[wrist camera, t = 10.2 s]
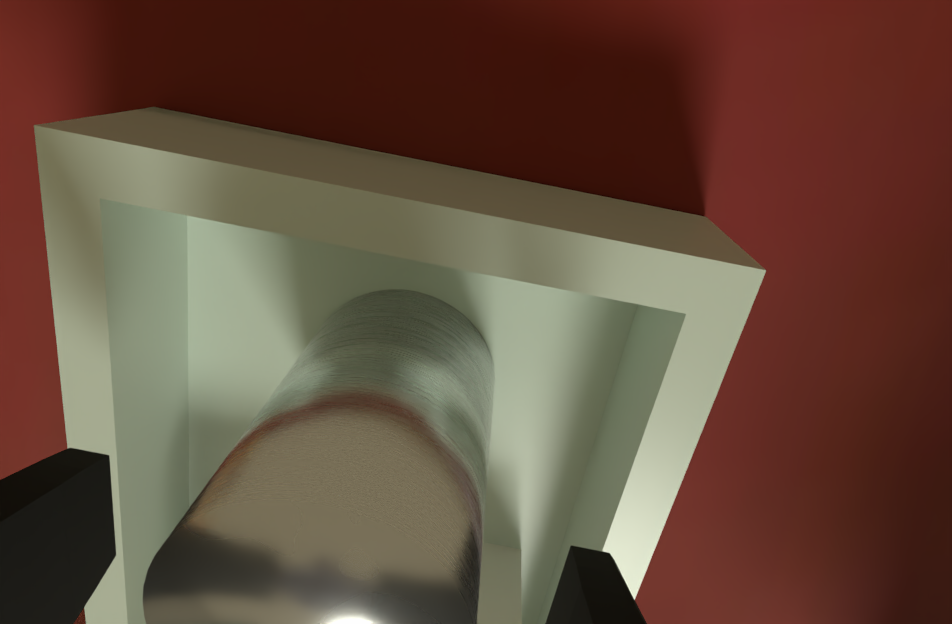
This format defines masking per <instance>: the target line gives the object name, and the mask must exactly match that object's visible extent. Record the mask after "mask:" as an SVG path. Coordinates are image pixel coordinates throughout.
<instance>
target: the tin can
mask: <svg viewBox="0 0 952 624" xmlns="http://www.w3.org/2000/svg"><path fill="white" fill-rule="evenodd" d="M494 386H495V372H494V364H493V360H492V357H491V353H490V350H489V348H488V346H487V344H486V341H485V340H484V338H483V337H482V335H481V333H480V332H479V330H478V329H477V328H476V327H475V325H474V324H473V323H472V322H471V321H470V320H469V319H468V318H467V317H466V316H465V315H464V314H463V313H461V312H460V311H459V310H457V309H456V308H454V307H453V306H451V305H450V304H448V303H446V302H444V301H443V300H441V299H438V298H436V297H433V296H431V295H428V294H424V293H421V292H417V291H411V290H404V289H388V290H378V291H374V292H370V293H366V294H363V295H360V296H358V297H355V298H353V299H351V300H350V301H348V302H346V303H344V304H343V305H342V306H340V307H339V308H338V309H336V310H335V311H334V312H333V313H332V314H331V315H330V316H329V317H328V318H327V319H326V321H325V322H324V324H323V325H322V326H321V328H320V329H319V330H318V332H317V333H316V334H315V336H314V337H313V339H312V340H311V341H310V343H309V344H308V345H307V347H306V348H305V350H304V351H303V352H302V354H301V355H300V356H299V358H298V359H297V361H296V362H295V363H294V365H293V366H292V367H291V369H290V370H289V372H288V373H287V374H286V376H285V377H284V378H283V380H282V381H281V383H280V384H279V385H278V387H277V388H276V389H275V391H274V392H273V394H272V395H271V396H270V398H269V399H268V400H267V402H266V403H265V405H264V406H263V407H262V409H261V410H260V412H259V413H258V414H257V416H256V417H255V418H254V420H253V421H252V423H251V424H250V425H249V427H248V428H247V429H246V431H245V432H244V434H243V435H242V436H241V438H240V439H239V440H238V442H237V443H236V445H235V446H234V447H233V449H232V450H231V451H230V453H229V454H228V456H227V457H226V458H225V460H224V461H223V462H222V464H221V465H220V467H219V468H218V469H217V471H216V472H215V473H214V475H213V476H212V478H211V479H210V480H209V482H208V483H207V484H206V486H205V487H204V489H203V490H202V491H201V493H200V494H199V495H198V497H197V498H196V500H195V501H194V502H193V504H192V505H191V506H190V508H189V509H188V511H187V512H186V513H185V515H184V516H183V517H182V519H181V520H180V522H179V523H178V524H177V526H176V527H175V528H174V530H173V531H172V533H171V534H170V535H169V537H168V538H167V539H166V541H165V542H164V544H163V545H162V546H161V548H160V549H159V550H158V552H157V553H156V555H155V556H154V558H153V560H152V562H151V564H150V566H149V568H148V570H147V574H146V578H145V582H144V586H143V610H144V618H145V621H146V624H477V614H478V600H479V587H480V574H481V560H482V547H483V533H484V520H485V506H486V493H487V480H488V466H489V453H490V439H491V426H492V412H493V399H494Z"/></svg>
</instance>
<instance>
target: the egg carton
mask: <svg viewBox="0 0 952 624" xmlns="http://www.w3.org/2000/svg"><path fill="white" fill-rule="evenodd" d="M477 624H522V581H521V549H516V548H511V547H506V546H501V545H496V544H490V543H485V542H483V547H482V560H481V574H480V587H479V600H478V614H477Z"/></svg>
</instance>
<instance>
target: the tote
mask: <svg viewBox="0 0 952 624" xmlns="http://www.w3.org/2000/svg"><path fill="white" fill-rule="evenodd" d="M34 130H35V140H36V149H37V159H38V169H39V178H40V188H41V197H42V207H43V216H44V226H45V236H46V245H47V255H48V264H49V274H50V283H51V293H52V303H53V312H54V322H55V331H56V341H57V351H58V360H59V370H60V379H61V389H62V398H63V408H64V418H65V427H66V437H67V446H68V448H75V449H80V450H85V451H90V452H96V453H101V454H106V455H109V458H110V472H111V486H112V501H113V515H114V530H115V544H116V556H115V558H114V560H113V561H112V563H111V565H110V566H109V568H108V570H107V571H106V573H105V575H104V576H103V578H102V580H101V581H100V583H99V584H98V586H97V588H96V589H95V591H94V593H93V594H92V596H91V597H90V599H89V600H88V602H87V603H86V605H85V607H84V609H85V619H86V624H146V621H145V618H144V610H143V586H144V582H145V578H146V574H147V570H148V568H149V566H150V564H151V562H152V560H153V558H154V556H155V555H156V553H157V552H158V550H159V549H160V548H161V546H162V545H163V544H164V542H165V541H166V539H167V538H168V537H169V535H170V534H171V533H172V531H173V530H174V528H175V527H176V526H177V524H178V523H179V522H180V520H181V519H182V517H183V516H184V515H185V513H186V512H187V511H188V509H189V508H190V506H191V505H192V504H193V502H194V501H195V500H196V498H197V497H198V495H199V494H200V493H201V491H202V490H203V489H204V487H205V486H206V484H207V483H208V482H209V480H210V479H211V478H212V476H213V475H214V473H215V472H216V471H217V469H218V468H219V467H220V465H221V464H222V462H223V461H224V460H225V458H226V457H227V456H228V454H229V453H230V451H231V450H232V449H233V447H234V446H235V445H236V443H237V442H238V440H239V439H240V438H241V436H242V435H243V434H244V432H245V431H246V429H247V428H248V427H249V425H250V424H251V423H252V421H253V420H254V418H255V417H256V416H257V414H258V413H259V412H260V410H261V409H262V407H263V406H264V405H265V403H266V402H267V400H268V399H269V398H270V396H271V395H272V394H273V392H274V391H275V389H276V388H277V387H278V385H279V384H280V383H281V381H282V380H283V378H284V377H285V376H286V374H287V373H288V372H289V370H290V369H291V367H292V366H293V365H294V363H295V362H296V361H297V359H298V358H299V356H300V355H301V354H302V352H303V351H304V350H305V348H306V347H307V345H308V344H309V343H310V341H311V340H312V339H313V337H314V336H315V334H316V333H317V332H318V330H319V329H320V328H321V326H322V325H323V324H324V322H325V321H326V319H327V318H328V317H329V316H330V315H331V314H332V313H333V312H334V311H335V310H336V309H338V308H339V307H340V306H342V305H343V304H344V303H346V302H348V301H350V300H351V299H353V298H355V297H358V296H360V295H363V294H366V293H370V292H374V291H378V290H388V289H404V290H411V291H417V292H421V293H424V294H428V295H431V296H433V297H436V298H438V299H441V300H443V301H444V302H446V303H448V304H450V305H451V306H453V307H454V308H456V309H457V310H459V311H460V312H461V313H463V314H464V315H465V316H466V317H467V318H468V319H469V320H470V321H471V322H472V323H473V324H474V325H475V327H476V328H477V329H478V330H479V332H480V333H481V335H482V337H483V338H484V340H485V341H486V344H487V346H488V348H489V350H490V353H491V357H492V360H493V364H494V372H495V386H494V399H493V412H492V426H491V439H490V453H489V466H488V480H487V493H486V506H485V520H484V533H483V542H485V543H490V544H496V545H501V546H506V547H511V548H516V549H521V581H522V624H545V623H546V620H547V617H548V614H549V611H550V608H551V605H552V602H553V599H554V595H555V592H556V589H557V586H558V583H559V580H560V577H561V574H562V571H563V568H564V565H565V562H566V558H567V555H568V552H569V549H570V546H571V545H572V546H577V547H582V548H587V549H592V550H598V551H603V552H608V553H610V554H611V556H612V557H613V559H614V560H615V562H616V564H617V566H618V568H619V570H620V572H621V574H622V576H623V578H624V580H625V582H626V584H627V586H628V588H629V590H630V592H631V594H632V596H633V598H634V600H635V597H636V595H637V592H638V590H639V587H640V585H641V582H642V580H643V577H644V575H645V572H646V570H647V567H648V565H649V562H650V560H651V557H652V555H653V552H654V550H655V547H656V545H657V542H658V540H659V537H660V535H661V532H662V530H663V527H664V525H665V522H666V520H667V517H668V515H669V512H670V510H671V507H672V505H673V502H674V500H675V497H676V495H677V492H678V490H679V487H680V485H681V482H682V480H683V477H684V475H685V472H686V470H687V467H688V465H689V462H690V460H691V457H692V455H693V452H694V450H695V447H696V445H697V442H698V440H699V437H700V435H701V432H702V430H703V427H704V425H705V422H706V420H707V417H708V415H709V412H710V410H711V407H712V405H713V402H714V400H715V397H716V395H717V392H718V390H719V387H720V385H721V382H722V380H723V377H724V375H725V372H726V370H727V367H728V365H729V362H730V360H731V357H732V355H733V352H734V350H735V347H736V345H737V342H738V340H739V337H740V335H741V332H742V330H743V327H744V325H745V322H746V320H747V317H748V315H749V312H750V310H751V307H752V305H753V302H754V300H755V297H756V295H757V292H758V290H759V287H760V285H761V282H762V280H763V277H764V275H765V272H766V270H765V269H764V268H763V267H762V266H761V265H760V264H758V263H757V262H756V261H755V260H754V259H753V258H752V257H751V256H749V255H748V254H747V253H746V252H745V251H744V250H743V249H742V248H740V247H739V246H738V245H737V244H736V243H735V242H734V241H733V240H731V239H730V238H729V237H728V236H727V235H726V234H725V233H724V232H722V231H721V230H720V229H719V228H718V227H717V226H716V225H715V224H713V223H712V222H711V221H710V220H709V219H708V218H707V217H705V216H700V215H695V214H690V213H685V212H680V211H675V210H670V209H665V208H660V207H655V206H650V205H645V204H640V203H634V202H629V201H624V200H619V199H614V198H609V197H604V196H599V195H594V194H589V193H584V192H579V191H574V190H569V189H564V188H559V187H554V186H549V185H544V184H539V183H534V182H529V181H524V180H519V179H514V178H509V177H504V176H499V175H494V174H489V173H484V172H479V171H474V170H469V169H464V168H459V167H454V166H449V165H444V164H439V163H434V162H429V161H424V160H419V159H413V158H408V157H403V156H398V155H393V154H388V153H383V152H378V151H373V150H368V149H363V148H358V147H353V146H348V145H343V144H338V143H333V142H328V141H323V140H318V139H313V138H308V137H303V136H298V135H293V134H288V133H283V132H278V131H273V130H268V129H263V128H258V127H253V126H248V125H243V124H238V123H233V122H228V121H223V120H218V119H213V118H208V117H203V116H197V115H192V114H187V113H182V112H177V111H172V110H167V109H162V108H157V107H150V108H144V109H137V110H131V111H124V112H118V113H111V114H104V115H98V116H91V117H85V118H78V119H72V120H65V121H59V122H52V123H46V124H39V125H34Z"/></svg>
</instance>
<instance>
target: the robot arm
mask: <svg viewBox="0 0 952 624" xmlns="http://www.w3.org/2000/svg"><path fill="white" fill-rule="evenodd" d="M115 556H116V544H115V530H114V515H113V501H112V486H111V472H110V458H109V455H106V454H101V453H96V452H90V451H85V450H80V449H75V448H68V449H66V450H64V451H61V452H59V453H57V454H54V455H52V456H50V457H48V458H46V459H43V460H41V461H39V462H37V463H35V464H33V465H31V466H29V467H26V468H24V469H22V470H20V471H18V472H16V473H14V474H12V475H10V476H8V477H6V478H4V479H2V480H0V624H73V623H74V622H75V620H76V619H77V617H78V616H79V614H80V613H81V611H82V610H83V608H84V607H85V605H86V603H87V602H88V600H89V599H90V597H91V596H92V594H93V593H94V591H95V589H96V588H97V586H98V584H99V583H100V581H101V580H102V578H103V576H104V575H105V573H106V571H107V570H108V568H109V566H110V565H111V563H112V561H113V560H114V558H115ZM545 624H647V623H646V621H645V619H644V617H643V616H642V614H641V612H640V610H639V608H638V606H637V604H636V602H635V600H634V598H633V596H632V594H631V592H630V590H629V588H628V586H627V584H626V582H625V580H624V578H623V576H622V574H621V572H620V570H619V568H618V566H617V564H616V562H615V560H614V559H613V557H612V556H611V554H610V553H608V552H603V551H598V550H592V549H587V548H582V547H577V546H572V545H571V546H570V549H569V552H568V555H567V558H566V562H565V565H564V568H563V571H562V574H561V577H560V580H559V583H558V586H557V589H556V592H555V595H554V599H553V602H552V605H551V608H550V611H549V614H548V617H547V620H546V623H545Z"/></svg>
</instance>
